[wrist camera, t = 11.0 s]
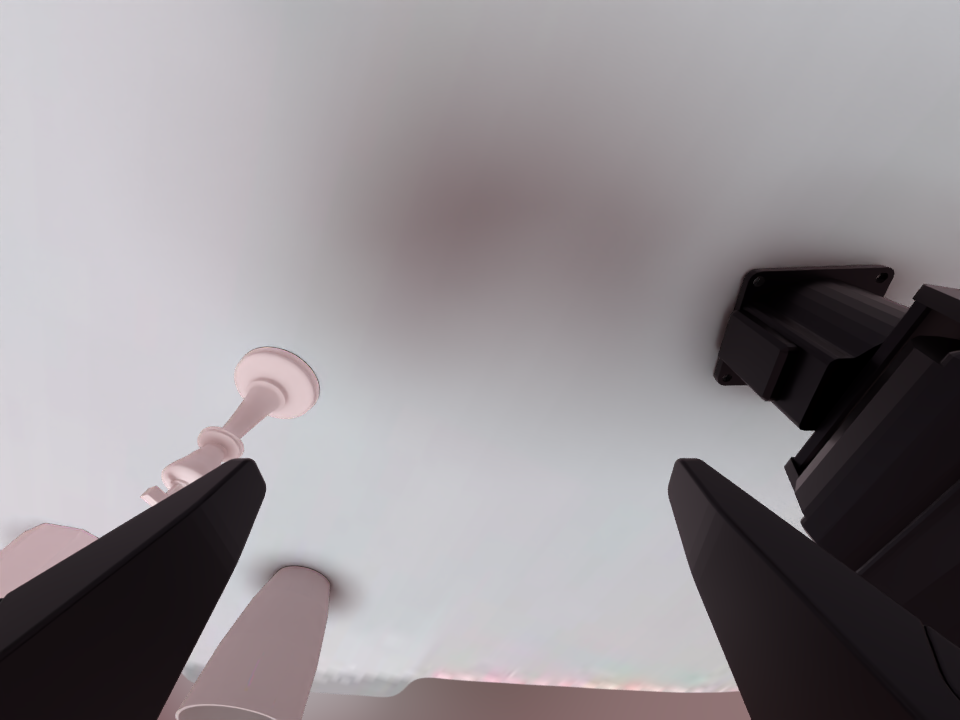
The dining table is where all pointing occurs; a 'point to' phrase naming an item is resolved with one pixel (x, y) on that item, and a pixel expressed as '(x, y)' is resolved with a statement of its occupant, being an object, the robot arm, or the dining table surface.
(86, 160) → the dining table surface
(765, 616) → the robot arm
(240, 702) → the cup
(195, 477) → the chess piece
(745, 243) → the dining table surface
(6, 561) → the mug
